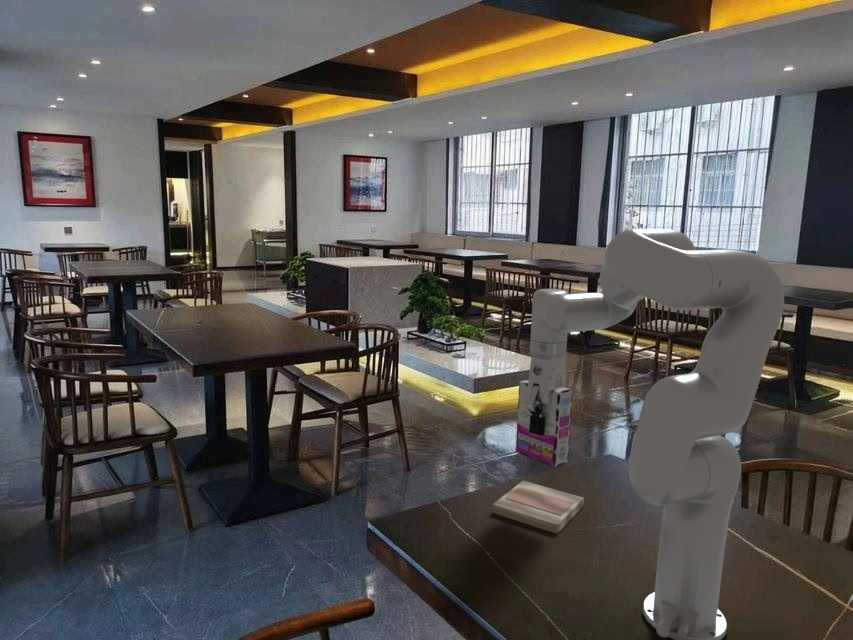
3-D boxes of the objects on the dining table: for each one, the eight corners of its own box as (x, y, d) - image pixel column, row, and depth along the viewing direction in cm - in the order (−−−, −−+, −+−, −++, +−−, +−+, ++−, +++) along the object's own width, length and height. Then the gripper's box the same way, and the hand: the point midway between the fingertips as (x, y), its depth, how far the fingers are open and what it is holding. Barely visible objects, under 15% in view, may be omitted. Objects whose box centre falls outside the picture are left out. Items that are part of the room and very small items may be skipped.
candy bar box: (569, 462, 134) (574, 388, 131) (554, 468, 131) (559, 393, 128) (529, 446, 142) (533, 376, 139) (514, 452, 139) (518, 380, 136)
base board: (557, 533, 129) (557, 523, 128) (492, 512, 137) (492, 503, 136) (583, 506, 141) (584, 497, 140) (522, 488, 149) (523, 479, 149)
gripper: (548, 358, 123) (542, 445, 126) (580, 343, 137) (574, 422, 140) (513, 352, 127) (509, 437, 131) (548, 338, 141) (543, 415, 145)
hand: (543, 428), depth 135 cm, fingers closed on candy bar box, 5 cm apart
